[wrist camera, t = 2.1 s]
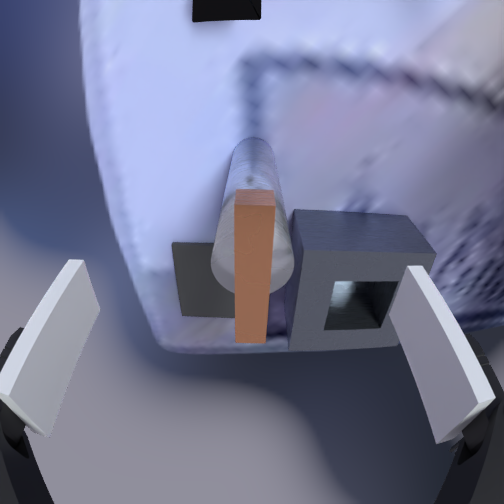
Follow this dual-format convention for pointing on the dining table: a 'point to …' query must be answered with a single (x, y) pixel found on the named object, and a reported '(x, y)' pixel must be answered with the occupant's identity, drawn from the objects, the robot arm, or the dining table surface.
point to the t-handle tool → (252, 238)
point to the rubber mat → (200, 282)
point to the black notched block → (226, 10)
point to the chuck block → (348, 277)
